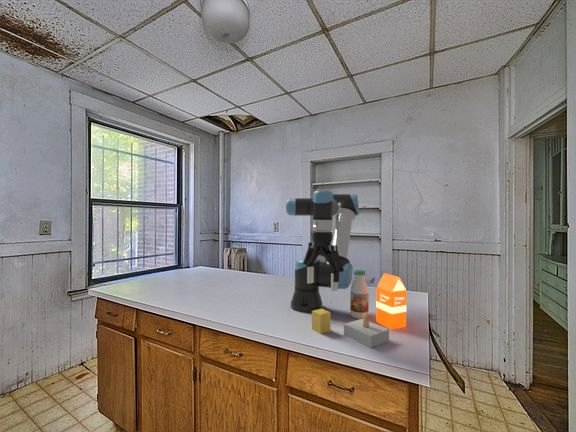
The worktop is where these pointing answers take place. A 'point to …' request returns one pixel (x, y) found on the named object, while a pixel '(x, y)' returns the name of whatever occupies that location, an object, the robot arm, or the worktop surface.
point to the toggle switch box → (366, 332)
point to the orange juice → (391, 302)
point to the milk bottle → (359, 295)
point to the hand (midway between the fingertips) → (321, 286)
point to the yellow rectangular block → (321, 320)
